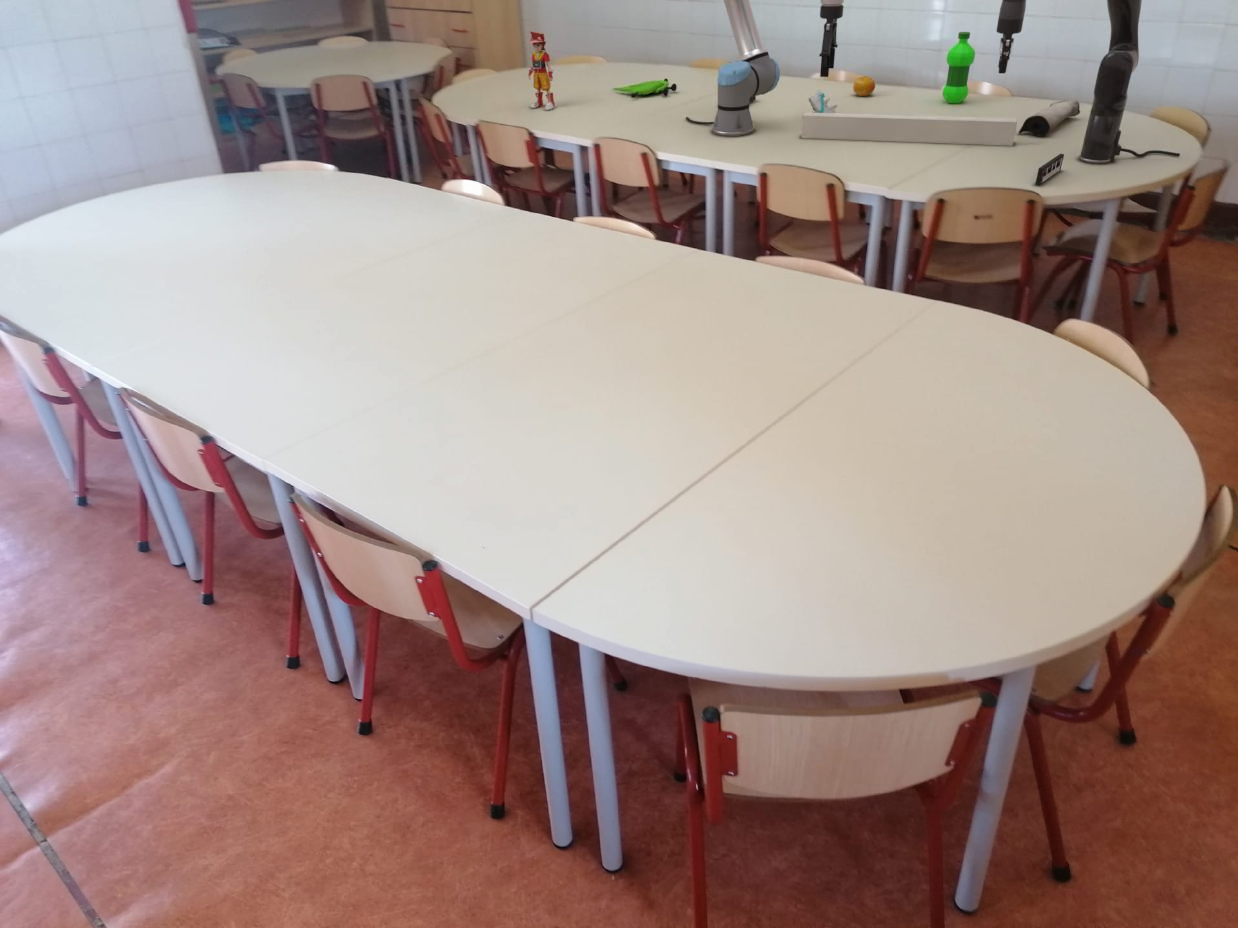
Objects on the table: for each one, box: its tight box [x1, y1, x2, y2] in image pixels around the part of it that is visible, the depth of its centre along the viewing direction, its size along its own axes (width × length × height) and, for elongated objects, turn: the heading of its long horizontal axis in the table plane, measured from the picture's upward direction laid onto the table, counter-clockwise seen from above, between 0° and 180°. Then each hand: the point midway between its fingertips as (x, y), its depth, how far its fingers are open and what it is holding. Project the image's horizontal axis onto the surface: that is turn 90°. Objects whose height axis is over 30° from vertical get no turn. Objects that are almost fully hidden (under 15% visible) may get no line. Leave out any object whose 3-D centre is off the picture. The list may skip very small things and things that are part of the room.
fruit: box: [852, 76, 876, 97], centre depth 369 cm, size 8×8×8 cm
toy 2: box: [612, 78, 677, 99], centre depth 396 cm, size 28×5×30 cm
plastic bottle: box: [942, 31, 976, 104], centre depth 348 cm, size 10×10×25 cm
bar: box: [800, 112, 1018, 147], centre depth 314 cm, size 71×5×8 cm, turn 71°
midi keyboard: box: [1035, 153, 1065, 186], centre depth 273 cm, size 18×1×5 cm, turn 138°
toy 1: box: [527, 31, 556, 111], centre depth 374 cm, size 12×9×30 cm
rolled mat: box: [1018, 99, 1081, 137], centre depth 319 cm, size 30×9×10 cm
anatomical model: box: [808, 89, 839, 113], centre depth 345 cm, size 15×10×10 cm
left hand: (827, 72), depth 312 cm, fingers open, 13 cm apart
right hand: (1001, 70), depth 295 cm, fingers open, 8 cm apart
